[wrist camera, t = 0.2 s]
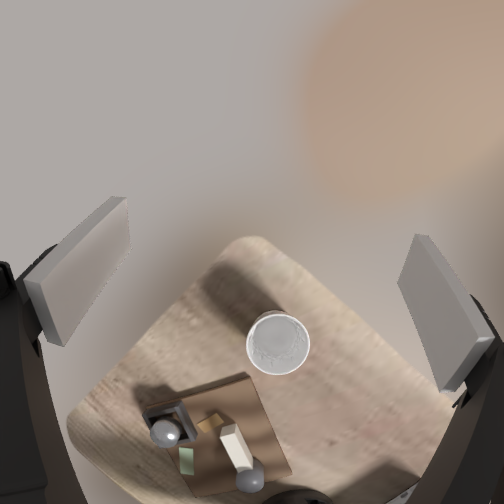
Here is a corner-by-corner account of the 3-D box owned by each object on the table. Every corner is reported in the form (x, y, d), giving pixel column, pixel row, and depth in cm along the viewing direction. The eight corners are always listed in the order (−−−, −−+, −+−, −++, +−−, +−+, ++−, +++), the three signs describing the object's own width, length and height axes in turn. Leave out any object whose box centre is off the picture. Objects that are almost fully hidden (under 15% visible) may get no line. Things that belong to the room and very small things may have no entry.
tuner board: (291, 471, 46) (293, 482, 43) (196, 494, 46) (193, 505, 42) (250, 376, 48) (249, 383, 44) (147, 405, 48) (140, 414, 44)
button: (186, 436, 44) (182, 444, 41) (162, 441, 44) (157, 449, 41) (175, 413, 44) (170, 421, 41) (151, 419, 44) (145, 426, 41)
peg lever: (267, 473, 45) (267, 489, 40) (243, 480, 45) (241, 495, 40) (242, 421, 46) (240, 434, 41) (216, 428, 46) (212, 442, 41)
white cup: (243, 350, 48) (240, 368, 38) (254, 301, 49) (253, 307, 39) (293, 360, 48) (301, 379, 38) (304, 311, 49) (316, 320, 39)
